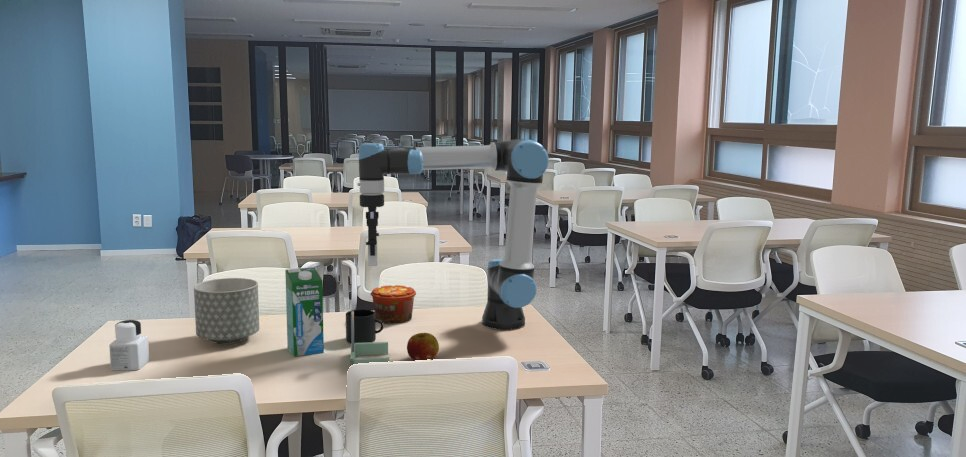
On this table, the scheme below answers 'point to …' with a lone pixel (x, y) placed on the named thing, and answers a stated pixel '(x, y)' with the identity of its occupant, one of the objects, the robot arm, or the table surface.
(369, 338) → the mug
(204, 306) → the planter
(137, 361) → the container
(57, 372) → the table surface
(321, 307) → the milk carton
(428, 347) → the fruit
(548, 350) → the table surface
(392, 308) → the food container
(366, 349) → the long-handled green u-channel
